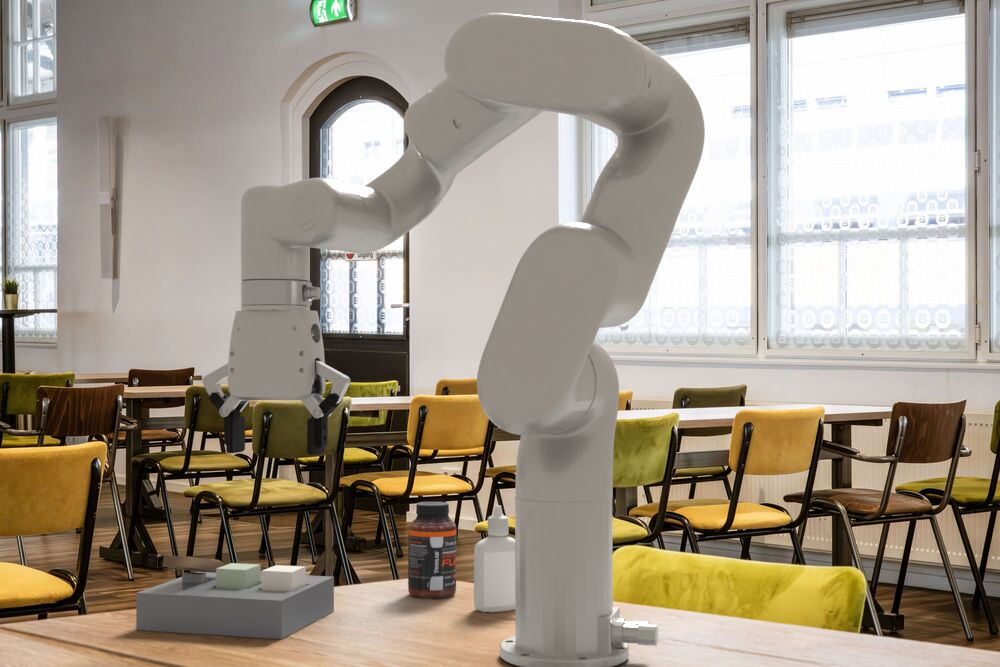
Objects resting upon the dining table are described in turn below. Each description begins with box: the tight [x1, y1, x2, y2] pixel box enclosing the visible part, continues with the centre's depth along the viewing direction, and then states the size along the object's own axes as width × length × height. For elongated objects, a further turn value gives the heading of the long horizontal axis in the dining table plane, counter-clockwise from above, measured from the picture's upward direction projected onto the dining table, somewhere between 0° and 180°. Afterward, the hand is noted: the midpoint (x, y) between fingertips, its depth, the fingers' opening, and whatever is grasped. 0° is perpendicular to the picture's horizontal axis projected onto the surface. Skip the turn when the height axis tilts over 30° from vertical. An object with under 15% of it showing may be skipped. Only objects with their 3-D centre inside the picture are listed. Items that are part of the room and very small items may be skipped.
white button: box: [261, 564, 307, 592], centre depth 134 cm, size 4×4×3 cm
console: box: [135, 571, 335, 640], centre depth 136 cm, size 17×14×5 cm
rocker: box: [162, 554, 225, 573], centre depth 137 cm, size 3×8×1 cm, turn 165°
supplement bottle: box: [407, 501, 457, 600], centre depth 150 cm, size 6×6×11 cm
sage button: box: [216, 562, 262, 589], centre depth 136 cm, size 4×4×3 cm
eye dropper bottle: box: [473, 504, 515, 613], centre depth 141 cm, size 4×6×12 cm
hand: (275, 453), depth 134 cm, fingers open, 9 cm apart
